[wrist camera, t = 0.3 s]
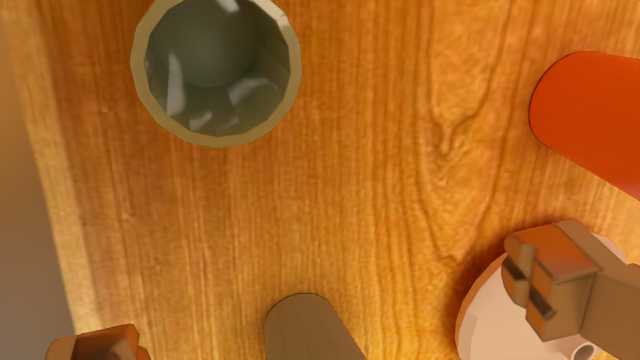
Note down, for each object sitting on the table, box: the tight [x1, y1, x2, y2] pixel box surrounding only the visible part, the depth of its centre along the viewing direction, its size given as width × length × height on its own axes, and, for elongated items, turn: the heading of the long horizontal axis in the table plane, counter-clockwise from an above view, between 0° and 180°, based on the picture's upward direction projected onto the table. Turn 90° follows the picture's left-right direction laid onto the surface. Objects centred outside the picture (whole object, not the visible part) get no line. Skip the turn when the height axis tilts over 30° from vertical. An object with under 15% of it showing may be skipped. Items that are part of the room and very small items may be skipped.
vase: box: [455, 232, 628, 360], centre depth 39 cm, size 16×16×7 cm
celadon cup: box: [130, 0, 303, 149], centre depth 22 cm, size 6×6×9 cm
